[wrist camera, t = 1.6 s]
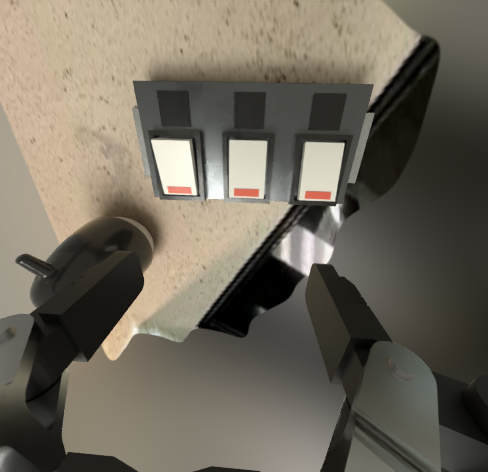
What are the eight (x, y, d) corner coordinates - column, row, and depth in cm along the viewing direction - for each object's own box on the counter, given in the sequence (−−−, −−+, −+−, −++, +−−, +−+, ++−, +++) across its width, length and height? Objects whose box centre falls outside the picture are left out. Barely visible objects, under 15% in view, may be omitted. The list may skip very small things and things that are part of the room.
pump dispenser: (148, 202, 29) (55, 257, 16) (171, 259, 34) (115, 339, 20) (89, 211, 30) (-45, 270, 17) (118, 265, 35) (32, 345, 21)
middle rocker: (230, 141, 21) (229, 139, 20) (266, 142, 21) (267, 140, 20) (229, 196, 23) (228, 197, 22) (263, 197, 23) (263, 198, 22)
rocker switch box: (129, 88, 23) (102, 77, 19) (378, 92, 22) (407, 81, 18) (149, 189, 28) (132, 198, 24) (349, 197, 27) (366, 207, 23)
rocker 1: (154, 137, 21) (150, 140, 20) (191, 138, 20) (188, 141, 20) (167, 190, 24) (164, 194, 23) (198, 191, 24) (196, 195, 23)
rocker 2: (303, 143, 21) (305, 141, 20) (340, 144, 21) (345, 142, 20) (297, 199, 23) (299, 200, 22) (331, 200, 23) (335, 201, 22)
